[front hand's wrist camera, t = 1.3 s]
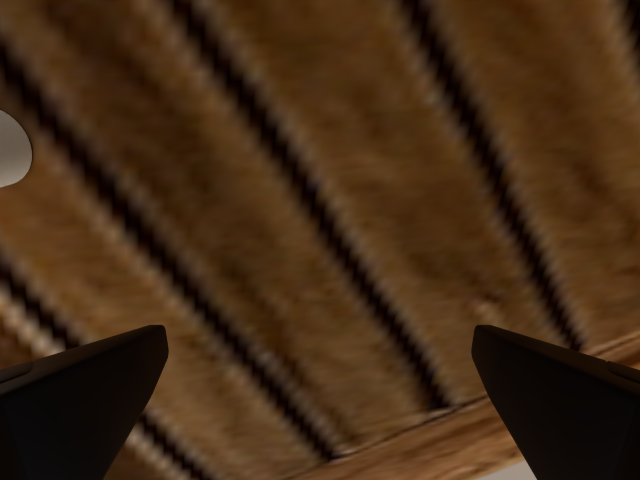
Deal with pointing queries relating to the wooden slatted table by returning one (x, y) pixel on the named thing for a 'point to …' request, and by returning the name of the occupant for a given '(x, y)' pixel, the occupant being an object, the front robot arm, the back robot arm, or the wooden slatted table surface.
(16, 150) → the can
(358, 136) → the wooden slatted table surface
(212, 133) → the wooden slatted table surface
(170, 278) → the wooden slatted table surface
